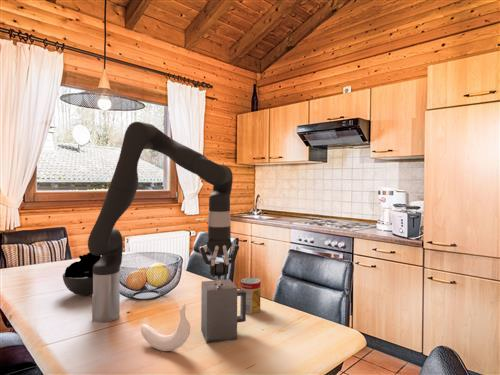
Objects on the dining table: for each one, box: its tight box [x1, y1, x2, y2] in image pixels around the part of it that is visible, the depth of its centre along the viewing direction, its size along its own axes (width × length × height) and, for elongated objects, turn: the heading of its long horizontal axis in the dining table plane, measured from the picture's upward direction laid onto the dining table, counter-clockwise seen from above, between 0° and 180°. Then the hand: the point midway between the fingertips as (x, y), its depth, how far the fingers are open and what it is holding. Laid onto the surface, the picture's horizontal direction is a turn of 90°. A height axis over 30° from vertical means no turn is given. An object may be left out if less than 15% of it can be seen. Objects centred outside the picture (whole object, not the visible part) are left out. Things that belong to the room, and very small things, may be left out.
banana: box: [140, 303, 191, 352], centre depth 107 cm, size 5×19×15 cm, turn 67°
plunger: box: [214, 261, 224, 286], centre depth 117 cm, size 3×3×18 cm
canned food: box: [240, 277, 261, 315], centre depth 140 cm, size 8×8×12 cm
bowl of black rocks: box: [62, 251, 102, 297], centre depth 156 cm, size 20×20×19 cm
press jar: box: [200, 279, 247, 344], centre depth 118 cm, size 14×10×17 cm
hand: (219, 275), depth 117 cm, fingers closed on plunger, 3 cm apart
